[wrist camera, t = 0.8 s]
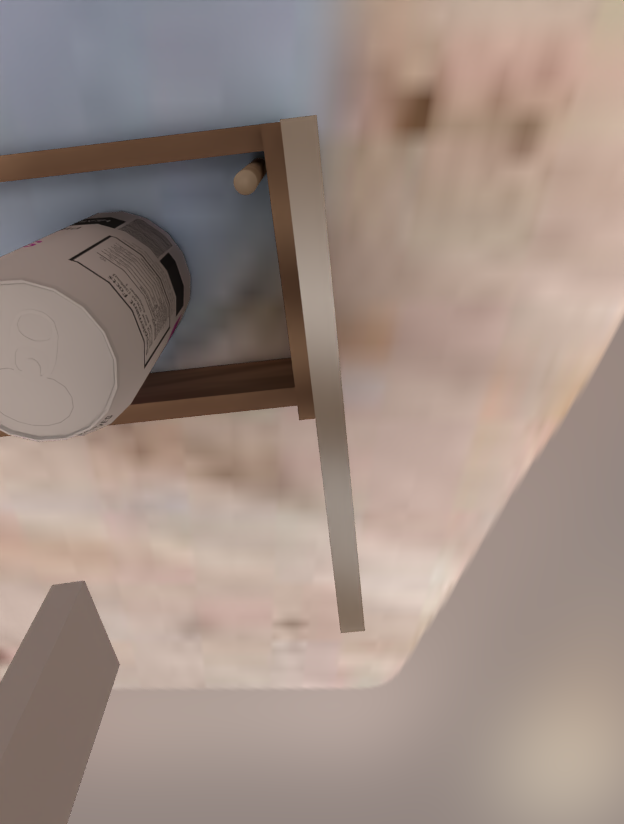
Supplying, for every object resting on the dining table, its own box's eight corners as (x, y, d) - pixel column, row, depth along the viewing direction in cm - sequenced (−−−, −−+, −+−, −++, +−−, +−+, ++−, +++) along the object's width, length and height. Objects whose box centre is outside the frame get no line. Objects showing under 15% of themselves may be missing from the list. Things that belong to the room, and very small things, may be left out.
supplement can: (180, 353, 40) (118, 472, 26) (53, 320, 39) (-79, 427, 25) (205, 232, 36) (149, 298, 23) (67, 192, 35) (-77, 236, 22)
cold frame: (-97, 167, 34) (-694, 236, 14) (306, 119, 34) (316, 115, 13) (-6, 406, 41) (-314, 694, 20) (331, 370, 40) (364, 630, 20)
